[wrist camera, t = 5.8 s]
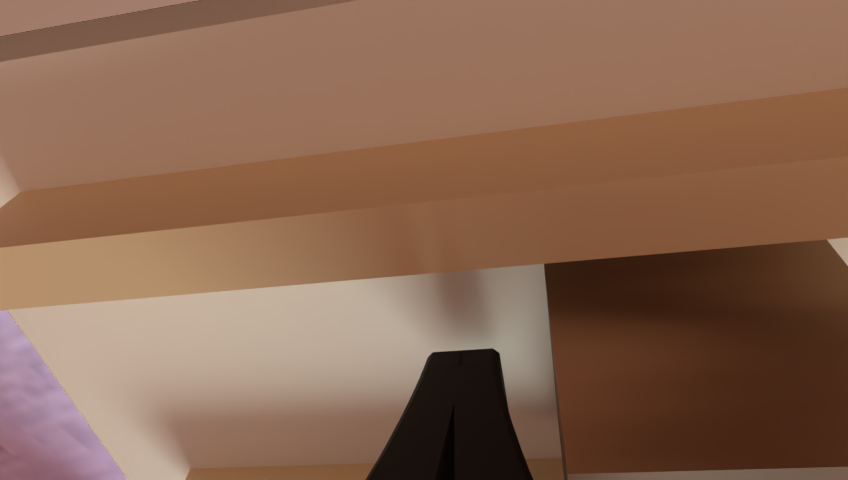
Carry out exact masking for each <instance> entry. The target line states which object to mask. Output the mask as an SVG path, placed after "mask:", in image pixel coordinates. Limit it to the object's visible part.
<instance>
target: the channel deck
mask: <svg viewBox="0 0 848 480" xmlns="http://www.w3.org/2000/svg"><path fill="white" fill-rule="evenodd" d="M826 239H827V240H828V242H829V243H830V244H831V245H832V247H833V248H834V249H835V251H836V252H837V253H838V254H839V256H840V257H841V258H842V259H843V261H844V262H845V263H846V264H847V266H848V0H199V1H193V2H188V3H182V4H177V5H171V6H166V7H160V8H155V9H149V10H144V11H138V12H133V13H127V14H122V15H116V16H110V17H105V18H99V19H94V20H89V21H83V22H77V23H72V24H66V25H61V26H55V27H50V28H44V29H39V30H33V31H27V32H22V33H17V34H11V35H5V36H0V310H7V311H8V312H9V314H10V315H11V316H12V318H13V319H14V321H15V322H16V323H17V325H18V326H19V328H20V329H21V330H22V332H23V333H24V335H25V336H26V337H27V339H28V340H29V342H30V343H31V344H32V346H33V347H34V349H35V350H36V351H37V353H38V354H39V356H40V357H41V359H42V360H43V361H44V363H45V364H46V366H47V367H48V368H49V370H50V371H51V373H52V374H53V375H54V377H55V378H56V380H57V381H58V382H59V384H60V385H61V387H62V388H63V389H64V391H65V392H66V394H67V395H68V396H69V398H70V399H71V401H72V402H73V404H74V405H75V406H76V408H77V409H78V411H79V412H80V413H81V415H82V416H83V418H84V419H85V420H86V422H87V423H88V425H89V426H90V427H91V429H92V430H93V432H94V433H95V434H96V436H97V437H98V439H99V440H100V441H101V443H102V444H103V446H104V447H105V448H106V450H107V451H108V453H109V454H110V456H111V457H112V458H113V460H114V461H115V463H116V464H117V465H118V467H119V468H120V470H121V471H122V472H123V474H124V475H125V477H126V478H127V479H128V480H366V478H367V476H368V475H369V473H370V471H371V470H372V468H373V466H374V465H375V463H376V461H377V460H378V458H379V456H380V455H381V453H382V451H383V449H384V448H385V446H386V444H387V442H388V440H389V438H390V437H391V435H392V433H393V431H394V429H395V427H396V425H397V423H398V422H399V420H400V418H401V416H402V414H403V412H404V410H405V408H406V406H407V404H408V402H409V400H410V398H411V396H412V393H413V391H414V389H415V387H416V385H417V382H418V380H419V378H420V376H421V373H422V371H423V368H424V366H425V363H426V361H427V358H428V356H430V355H431V354H432V353H433V352H443V351H459V350H475V349H491V348H493V349H494V350H496V351H497V352H499V353H500V359H501V365H502V372H503V378H504V384H505V390H506V396H507V403H508V409H509V414H510V417H511V420H512V423H513V426H514V429H515V432H516V435H517V438H518V441H519V444H520V447H521V449H522V452H523V455H524V457H525V460H526V463H527V465H528V468H529V470H530V472H531V475H532V477H533V480H564V473H563V464H562V454H561V445H560V435H559V426H558V415H557V404H556V393H555V382H554V371H553V360H552V349H551V338H550V327H549V316H548V305H547V294H546V283H545V272H544V264H547V263H558V262H570V261H582V260H593V259H605V258H617V257H628V256H640V255H651V254H663V253H675V252H686V251H698V250H710V249H721V248H733V247H745V246H756V245H768V244H780V243H791V242H803V241H815V240H826Z"/></svg>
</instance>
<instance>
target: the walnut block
mask: <svg viewBox="0 0 848 480" xmlns="http://www.w3.org/2000/svg"><path fill="white" fill-rule="evenodd" d="M544 272H545V283H546V294H547V305H548V316H549V327H550V338H551V349H552V360H553V371H554V382H555V393H556V404H557V415H558V426H559V435H560V445H561V454H562V464H563V473H564V480H848V266H847V264H846V263H845V262H844V261H843V259H842V258H841V257H840V256H839V254H838V253H837V252H836V251H835V249H834V248H833V247H832V245H831V244H830V243H829V242H828V240H827V239H826V240H815V241H803V242H791V243H780V244H768V245H756V246H745V247H733V248H721V249H710V250H698V251H686V252H675V253H663V254H651V255H640V256H628V257H617V258H605V259H593V260H582V261H570V262H558V263H547V264H544Z"/></svg>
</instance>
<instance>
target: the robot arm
mask: <svg viewBox="0 0 848 480" xmlns="http://www.w3.org/2000/svg"><path fill="white" fill-rule="evenodd" d="M366 480H533V477H532V475H531V472H530V470H529V468H528V465H527V463H526V460H525V457H524V455H523V452H522V449H521V447H520V444H519V441H518V438H517V435H516V432H515V429H514V426H513V423H512V420H511V417H510V414H509V409H508V403H507V396H506V390H505V384H504V378H503V372H502V365H501V359H500V353H499V352H497V351H496V350H494V349H493V348H491V349H475V350H459V351H443V352H433V353H432V354H431V355H430V356H428V358H427V361H426V363H425V366H424V368H423V371H422V373H421V376H420V378H419V380H418V382H417V385H416V387H415V389H414V391H413V393H412V396H411V398H410V400H409V402H408V404H407V406H406V408H405V410H404V412H403V414H402V416H401V418H400V420H399V422H398V423H397V425H396V427H395V429H394V431H393V433H392V435H391V437H390V438H389V440H388V442H387V444H386V446H385V448H384V449H383V451H382V453H381V455H380V456H379V458H378V460H377V461H376V463H375V465H374V466H373V468H372V470H371V471H370V473H369V475H368V476H367V478H366Z"/></svg>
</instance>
